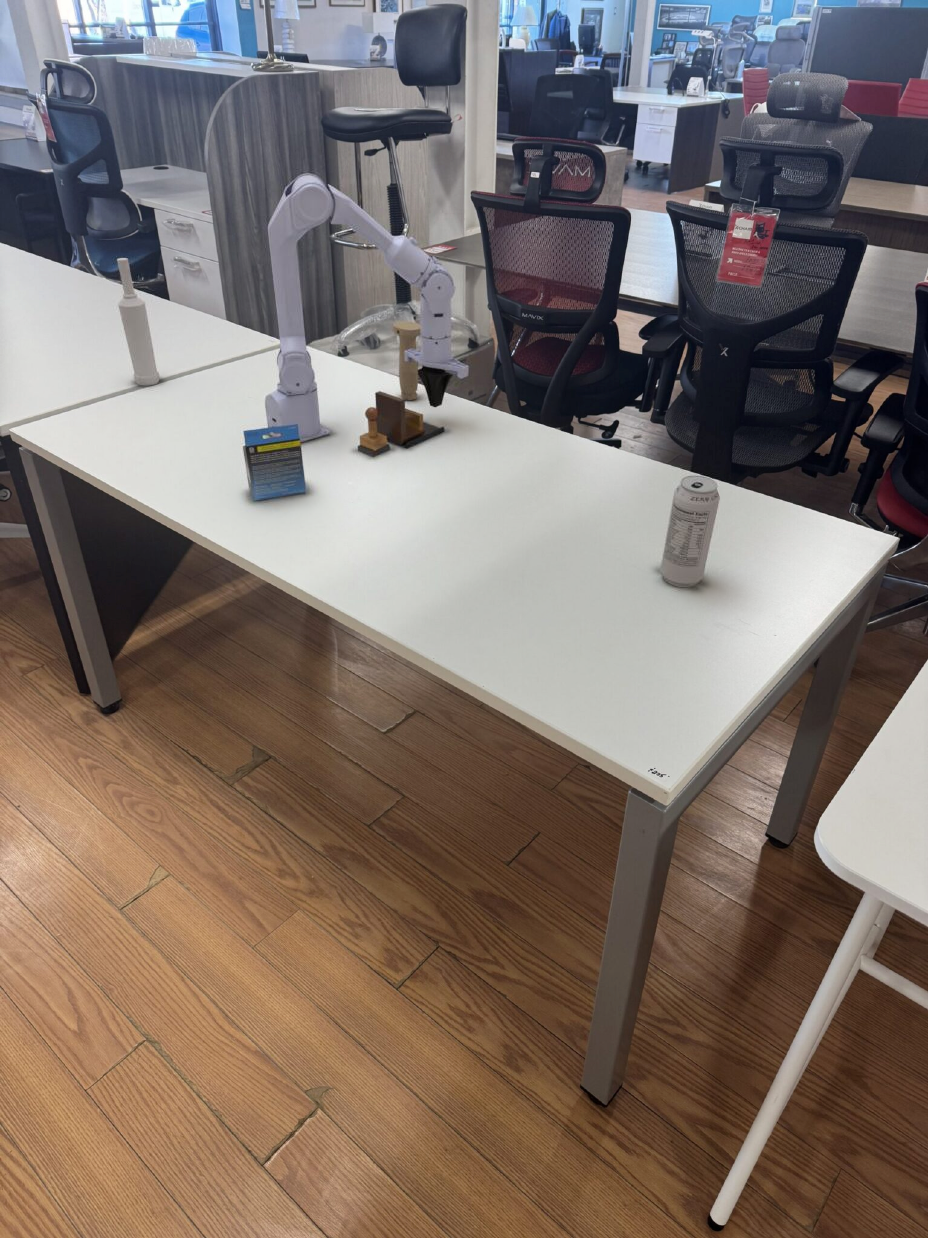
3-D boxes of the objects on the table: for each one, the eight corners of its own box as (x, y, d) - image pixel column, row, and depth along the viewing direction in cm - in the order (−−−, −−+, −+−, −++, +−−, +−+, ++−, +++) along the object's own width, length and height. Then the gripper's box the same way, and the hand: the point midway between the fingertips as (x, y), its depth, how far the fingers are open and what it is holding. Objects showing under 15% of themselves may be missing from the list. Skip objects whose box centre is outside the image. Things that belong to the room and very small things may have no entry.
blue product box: (301, 483, 144) (294, 414, 137) (306, 493, 141) (299, 423, 134) (249, 491, 141) (238, 421, 134) (253, 501, 138) (242, 430, 131)
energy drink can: (709, 577, 122) (730, 483, 113) (688, 594, 118) (708, 498, 109) (673, 562, 125) (690, 469, 116) (651, 578, 121) (667, 483, 113)
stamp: (385, 414, 157) (362, 402, 151) (401, 420, 155) (378, 408, 149) (369, 455, 158) (345, 445, 152) (384, 462, 156) (361, 451, 150)
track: (414, 420, 167) (413, 415, 167) (444, 431, 163) (444, 426, 162) (376, 436, 161) (376, 431, 160) (407, 448, 156) (407, 443, 156)
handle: (410, 405, 174) (408, 331, 165) (390, 396, 177) (387, 324, 169) (428, 399, 176) (427, 326, 168) (407, 391, 180) (405, 319, 171)
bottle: (156, 386, 180) (130, 262, 166) (131, 385, 180) (104, 261, 166) (163, 377, 185) (139, 256, 170) (139, 377, 185) (114, 255, 170)
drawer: (401, 424, 163) (400, 383, 159) (426, 433, 160) (425, 391, 155) (377, 434, 159) (375, 392, 155) (401, 444, 156) (400, 401, 151)
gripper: (479, 337, 155) (477, 408, 163) (421, 321, 163) (422, 390, 170) (454, 346, 151) (453, 419, 158) (395, 329, 158) (398, 399, 166)
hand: (435, 405), depth 164 cm, fingers closed
